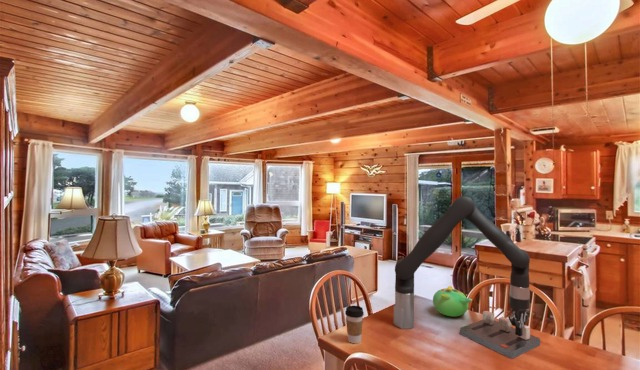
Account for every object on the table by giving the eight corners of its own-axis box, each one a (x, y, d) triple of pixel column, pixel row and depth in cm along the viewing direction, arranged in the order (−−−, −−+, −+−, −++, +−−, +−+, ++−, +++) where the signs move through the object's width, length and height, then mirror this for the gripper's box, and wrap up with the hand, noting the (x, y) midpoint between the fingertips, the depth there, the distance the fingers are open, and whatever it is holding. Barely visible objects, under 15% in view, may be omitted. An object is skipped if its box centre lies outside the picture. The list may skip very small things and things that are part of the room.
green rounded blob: (462, 309, 176) (462, 283, 176) (474, 323, 160) (474, 294, 159) (429, 308, 178) (429, 282, 178) (437, 321, 161) (437, 293, 161)
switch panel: (511, 359, 127) (512, 338, 127) (459, 334, 148) (460, 316, 148) (540, 345, 138) (540, 326, 138) (488, 323, 159) (488, 307, 159)
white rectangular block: (526, 339, 136) (526, 328, 136) (516, 335, 140) (516, 324, 140) (530, 338, 138) (530, 326, 138) (520, 334, 141) (520, 323, 141)
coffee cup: (341, 340, 142) (341, 308, 142) (352, 334, 148) (352, 302, 148) (356, 347, 136) (356, 313, 136) (367, 340, 143) (367, 307, 142)
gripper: (518, 290, 143) (518, 328, 143) (502, 295, 136) (501, 335, 136) (536, 296, 136) (536, 335, 136) (520, 301, 130) (519, 342, 130)
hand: (518, 335), depth 136 cm, fingers closed
